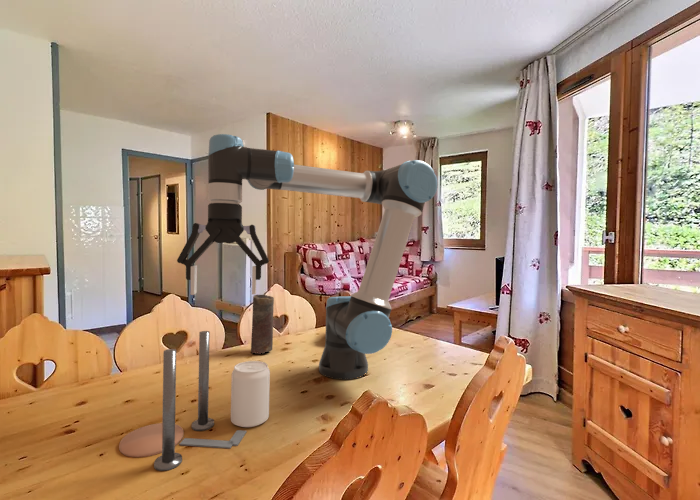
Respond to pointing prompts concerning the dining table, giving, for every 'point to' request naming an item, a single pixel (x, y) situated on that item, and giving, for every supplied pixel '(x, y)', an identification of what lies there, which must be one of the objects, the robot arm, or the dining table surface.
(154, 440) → the pad
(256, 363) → the beverage can
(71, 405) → the dining table surface
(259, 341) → the candle
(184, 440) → the strip
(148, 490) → the dining table surface
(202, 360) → the gate posts
